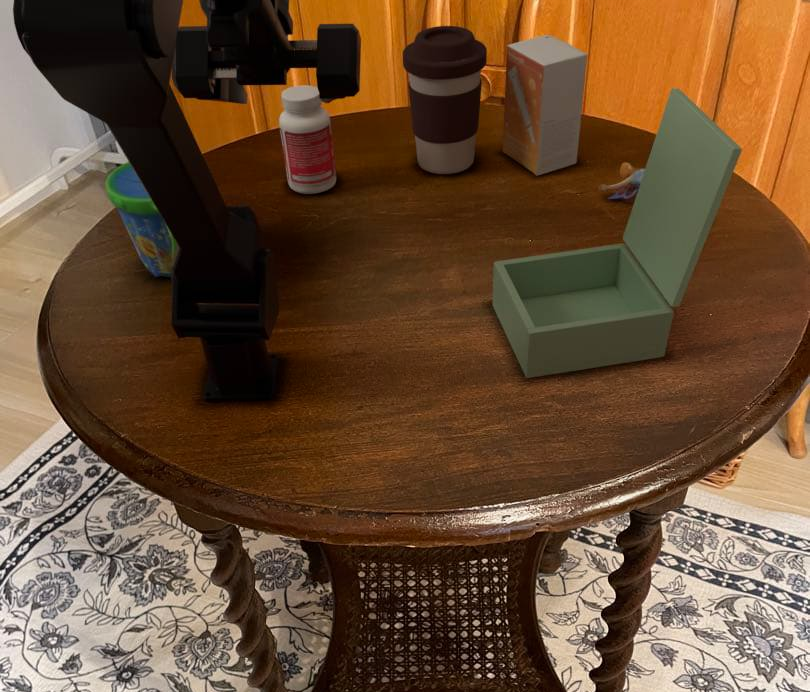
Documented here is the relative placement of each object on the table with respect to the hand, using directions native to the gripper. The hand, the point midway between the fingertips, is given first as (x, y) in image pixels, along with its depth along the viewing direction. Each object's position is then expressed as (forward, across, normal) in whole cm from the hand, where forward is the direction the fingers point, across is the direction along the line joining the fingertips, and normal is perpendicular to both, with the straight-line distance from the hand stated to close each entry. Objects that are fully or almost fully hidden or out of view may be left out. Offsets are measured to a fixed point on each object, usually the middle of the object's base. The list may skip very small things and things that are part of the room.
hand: (286, 98), depth 94 cm
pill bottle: (+15, 0, +4) cm, 15 cm away
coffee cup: (+19, -16, 0) cm, 25 cm away
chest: (-7, -32, +26) cm, 42 cm away
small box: (+20, -28, -1) cm, 35 cm away
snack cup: (+1, +12, +18) cm, 22 cm away
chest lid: (-15, -39, +15) cm, 44 cm away
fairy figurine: (+11, -42, +8) cm, 44 cm away
